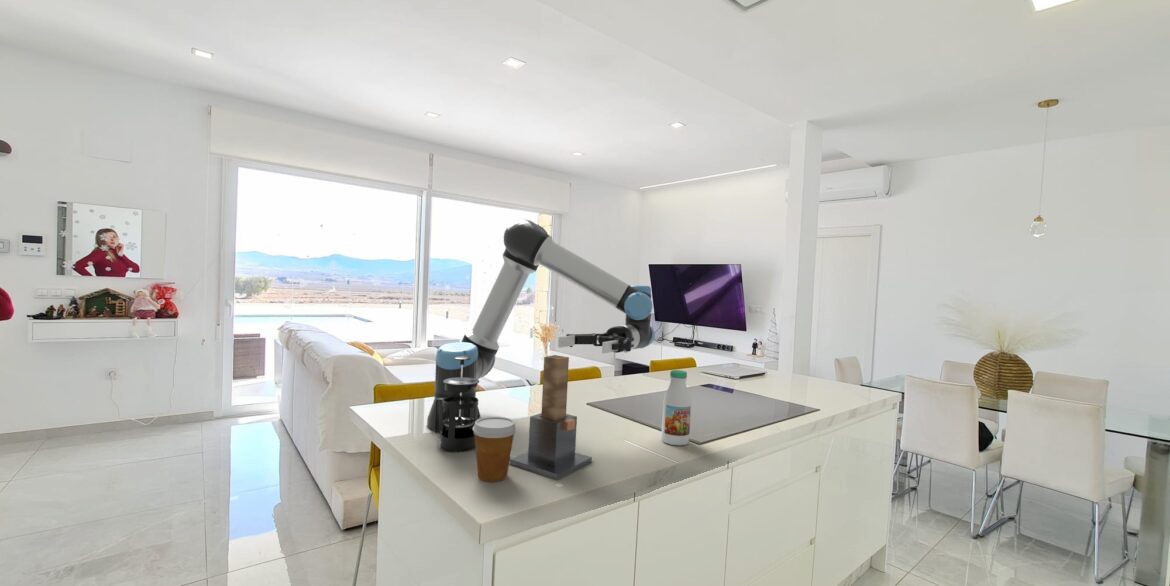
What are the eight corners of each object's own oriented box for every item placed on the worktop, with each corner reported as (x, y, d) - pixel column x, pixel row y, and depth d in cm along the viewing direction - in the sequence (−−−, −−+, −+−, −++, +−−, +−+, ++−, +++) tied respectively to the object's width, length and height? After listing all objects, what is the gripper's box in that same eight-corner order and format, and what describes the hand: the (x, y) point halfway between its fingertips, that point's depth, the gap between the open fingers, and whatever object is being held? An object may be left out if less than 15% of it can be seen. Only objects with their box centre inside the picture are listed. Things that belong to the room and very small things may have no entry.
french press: (485, 442, 129) (489, 355, 128) (470, 454, 120) (474, 361, 119) (444, 437, 131) (447, 352, 131) (426, 449, 122) (430, 357, 121)
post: (538, 457, 116) (543, 356, 116) (550, 452, 120) (554, 355, 119) (553, 461, 114) (558, 359, 113) (564, 456, 117) (569, 357, 117)
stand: (509, 464, 115) (511, 416, 115) (546, 448, 127) (548, 405, 126) (557, 479, 107) (559, 429, 107) (591, 461, 119) (594, 416, 119)
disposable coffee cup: (462, 474, 108) (464, 420, 107) (498, 464, 114) (500, 413, 114) (486, 489, 101) (488, 431, 100) (523, 477, 107) (525, 423, 107)
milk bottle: (655, 440, 138) (659, 369, 137) (672, 435, 143) (676, 367, 143) (677, 448, 132) (681, 374, 132) (694, 443, 137) (698, 372, 137)
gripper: (660, 356, 135) (623, 365, 118) (585, 346, 149) (541, 354, 131) (661, 329, 135) (624, 334, 117) (586, 322, 149) (542, 326, 131)
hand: (580, 344), depth 124 cm, fingers open, 13 cm apart
